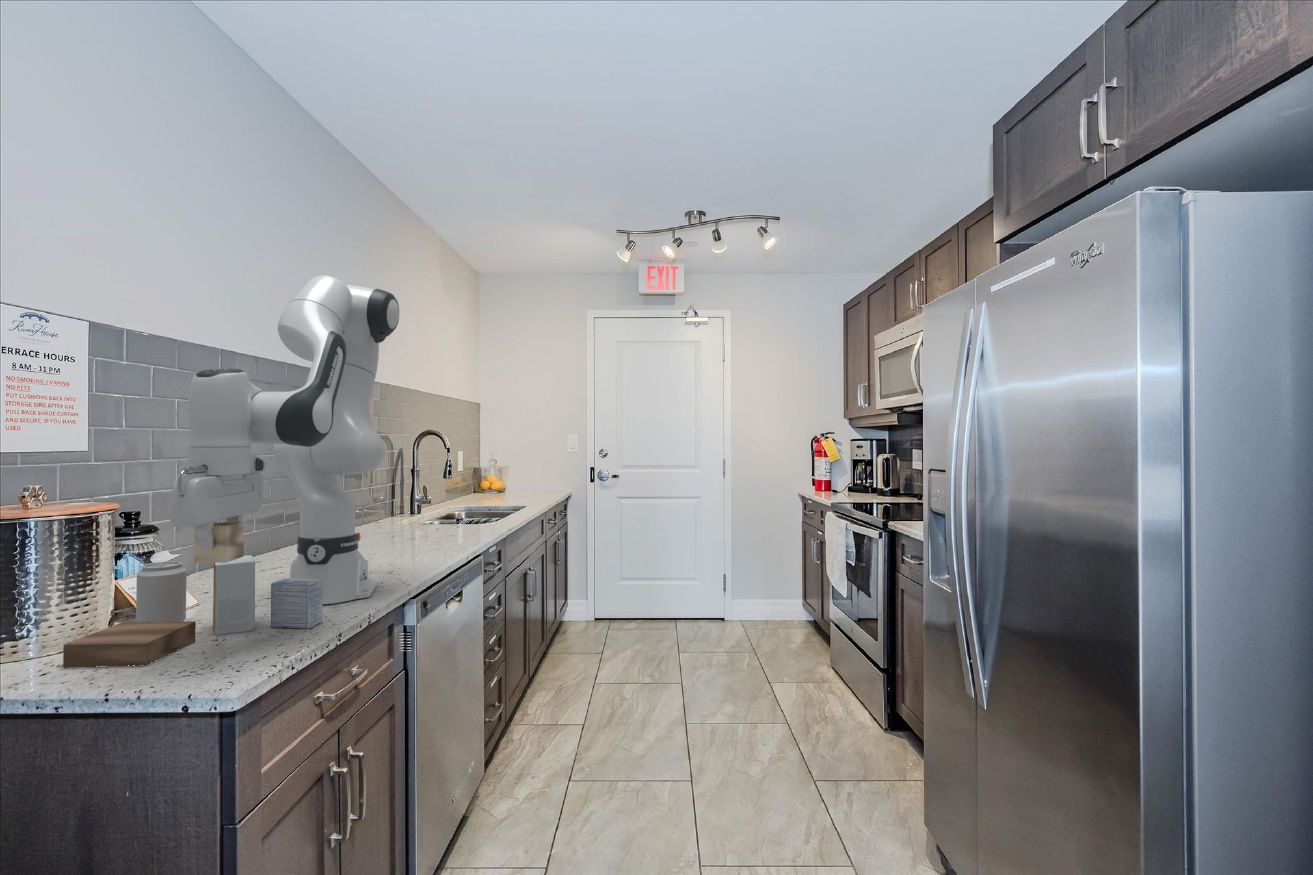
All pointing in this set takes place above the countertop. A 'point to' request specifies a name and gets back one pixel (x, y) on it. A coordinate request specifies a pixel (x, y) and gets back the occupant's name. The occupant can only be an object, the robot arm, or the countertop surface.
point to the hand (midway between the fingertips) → (219, 545)
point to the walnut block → (129, 644)
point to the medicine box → (296, 602)
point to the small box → (234, 596)
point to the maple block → (222, 543)
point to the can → (161, 592)
